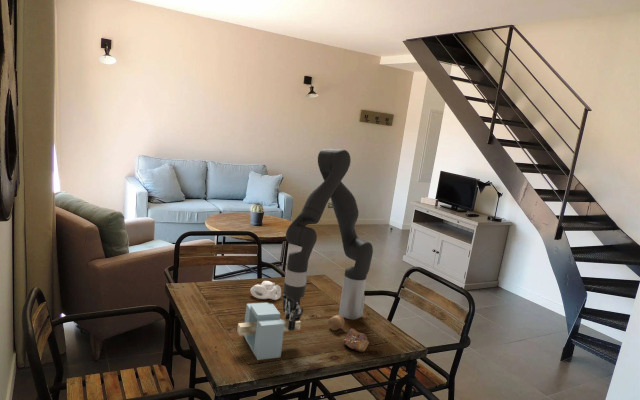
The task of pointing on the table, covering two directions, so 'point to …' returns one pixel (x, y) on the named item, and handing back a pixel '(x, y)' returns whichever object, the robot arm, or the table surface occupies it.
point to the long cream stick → (250, 327)
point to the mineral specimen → (356, 340)
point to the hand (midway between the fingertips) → (289, 327)
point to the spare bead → (336, 322)
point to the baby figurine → (266, 290)
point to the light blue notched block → (265, 330)
